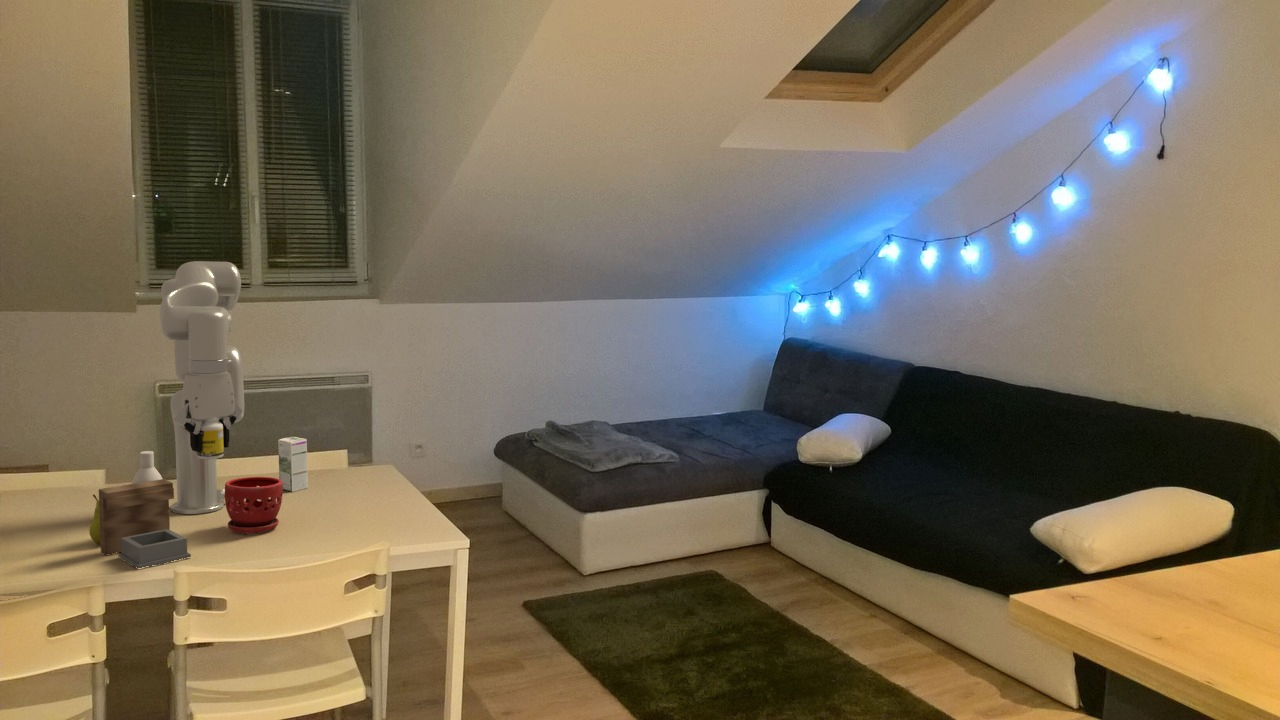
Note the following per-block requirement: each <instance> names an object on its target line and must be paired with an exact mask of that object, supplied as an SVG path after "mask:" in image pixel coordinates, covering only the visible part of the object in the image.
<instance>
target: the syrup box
mask: <svg viewBox="0 0 1280 720" xmlns="http://www.w3.org/2000/svg"><path fill="white" fill-rule="evenodd" d="M277 442H278V443H277V444H278V447H277V448H278V475H279V476H278V479H280V480H282V482H283V491H287V492H290V493H291V492H292V493H294V492H298V491H299V490H300V491H303V490H307V489H308V488H309V481H308V479H309V478H308V477H309V476H308V475H309V474H308V443H307V438H301V437H297V436H289V437H283V438H280V439H278V440H277Z"/></svg>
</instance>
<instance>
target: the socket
mask: <svg viewBox="0 0 1280 720" xmlns="http://www.w3.org/2000/svg"><path fill="white" fill-rule="evenodd" d="M117 557H120V558H121V559H123V560H125V561H127V562H128V563H130V564H132V565H133V566H135V567H137V568H142V567H146V566H152V565H158V566H160V565H159V564H162V565H165V564H164V563H167V562H171V561H174V560H179V559H182V558H183V559H184V558H187V557H192V555H191V553H190V552H189V551H188V538H187V537H185V536H182V535H181V534H179V533H177V532H175V531H172V530H171V529H170V530H169V529H164V530H159V531H154V532H149V533H144V534H139V535H133V536H128V537H123V538H121V553H117ZM120 558H119V559H120ZM121 559H120V560H121ZM123 560H122V561H123ZM125 561H124V562H125ZM128 563H127V564H128ZM130 564H129V565H130ZM167 564H168V563H167ZM133 566H132V567H133ZM135 567H134V568H135Z"/></svg>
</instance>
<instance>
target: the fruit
mask: <svg viewBox="0 0 1280 720" xmlns="http://www.w3.org/2000/svg"><path fill="white" fill-rule="evenodd" d="M92 497H93V498H94V499H95V501H96V504H95V509H94V513H93V515H94V516H93V520H92V522H91V524H90V526H89V532H88V533H89V536H90V538H91V540H92V541H93V542H94V543H96V544H97V545H101V539H100V514H99V498H97V496H96V495H95V494H93V495H92Z"/></svg>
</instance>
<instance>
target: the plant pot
mask: <svg viewBox="0 0 1280 720" xmlns="http://www.w3.org/2000/svg"><path fill="white" fill-rule="evenodd" d="M224 489H225V497H224V504H225V508H226V512H227V514H228V516H229V518H230V520H229V521H228V522H227V526H228V528H229V529H230V530H231V531H232V532H234V533H237V534H243V535H251V534H252V535H253V534H254V535H255V534H262V533H266V532H269V531H272V530H274V529H275V528H276V527H277V526H278V525H279V522H280V521H279V518H278V514H279V512H280V509H281V507H282V501H283V491H284V490H283V482H282V480H280V479H279V478H276V477H269V476H248V477H246V476H245V477H241V478H240V477H239V478H234V479H231V480H227V481H226V482H225V484H224Z"/></svg>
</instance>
